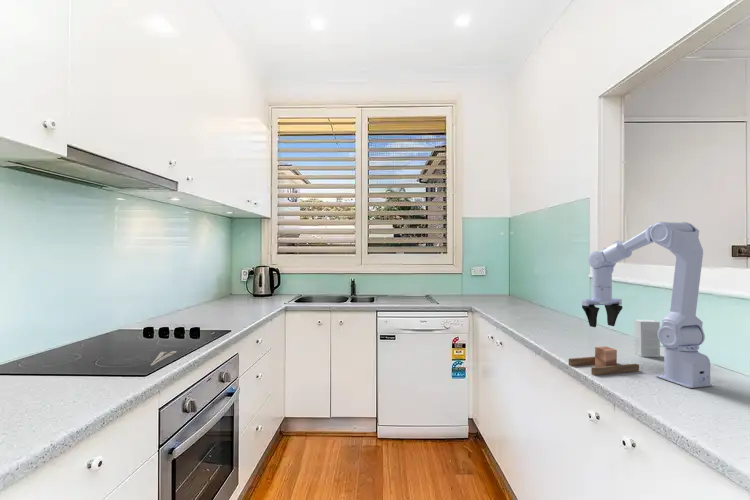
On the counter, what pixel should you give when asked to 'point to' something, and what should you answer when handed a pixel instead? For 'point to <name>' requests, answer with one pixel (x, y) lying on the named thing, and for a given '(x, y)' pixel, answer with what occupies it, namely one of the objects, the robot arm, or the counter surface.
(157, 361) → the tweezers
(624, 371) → the walnut channel
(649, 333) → the skincare box
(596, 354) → the terracotta block
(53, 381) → the counter surface
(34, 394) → the counter surface
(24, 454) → the counter surface
